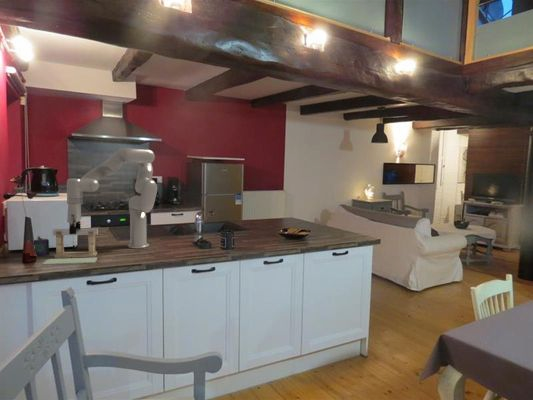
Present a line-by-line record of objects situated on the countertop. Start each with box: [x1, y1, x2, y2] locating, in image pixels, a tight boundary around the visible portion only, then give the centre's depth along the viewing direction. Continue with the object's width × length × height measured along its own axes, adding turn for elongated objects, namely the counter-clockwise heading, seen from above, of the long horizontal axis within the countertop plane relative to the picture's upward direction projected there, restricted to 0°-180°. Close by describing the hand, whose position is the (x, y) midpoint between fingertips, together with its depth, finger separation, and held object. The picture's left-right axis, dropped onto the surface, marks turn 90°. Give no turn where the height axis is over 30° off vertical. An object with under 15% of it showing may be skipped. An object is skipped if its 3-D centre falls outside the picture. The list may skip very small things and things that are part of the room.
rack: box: [54, 231, 98, 259], centre depth 203 cm, size 6×20×14 cm, turn 105°
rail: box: [52, 227, 99, 237], centre depth 202 cm, size 3×22×3 cm, turn 105°
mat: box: [41, 256, 98, 266], centre depth 192 cm, size 9×24×1 cm, turn 105°
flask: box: [33, 235, 50, 257], centre depth 201 cm, size 9×3×11 cm, turn 117°
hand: (75, 232), depth 202 cm, fingers open, 9 cm apart
